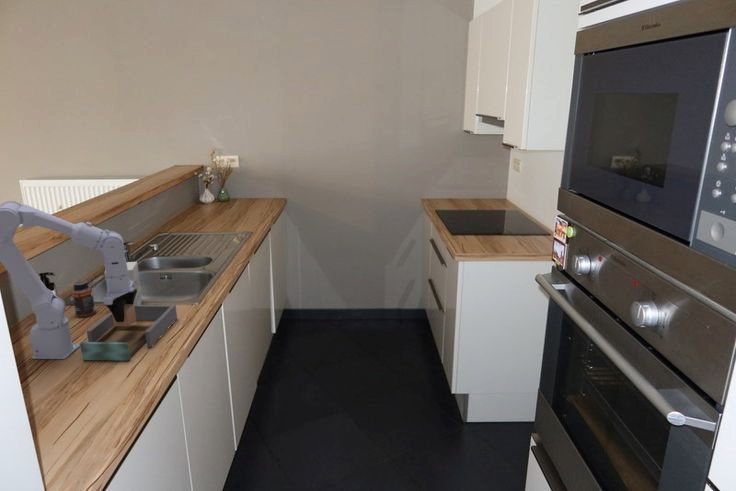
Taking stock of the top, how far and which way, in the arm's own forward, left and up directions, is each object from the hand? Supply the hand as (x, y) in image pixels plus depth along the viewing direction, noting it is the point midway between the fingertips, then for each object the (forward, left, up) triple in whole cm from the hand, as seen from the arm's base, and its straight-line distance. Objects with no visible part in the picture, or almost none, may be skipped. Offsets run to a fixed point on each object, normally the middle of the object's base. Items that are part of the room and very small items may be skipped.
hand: (124, 317), depth 154 cm
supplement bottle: (-23, +18, -8) cm, 30 cm away
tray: (0, -4, -7) cm, 8 cm away
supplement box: (-12, +24, -8) cm, 28 cm away
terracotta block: (0, 0, -2) cm, 2 cm away
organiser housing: (0, +5, -7) cm, 9 cm away
